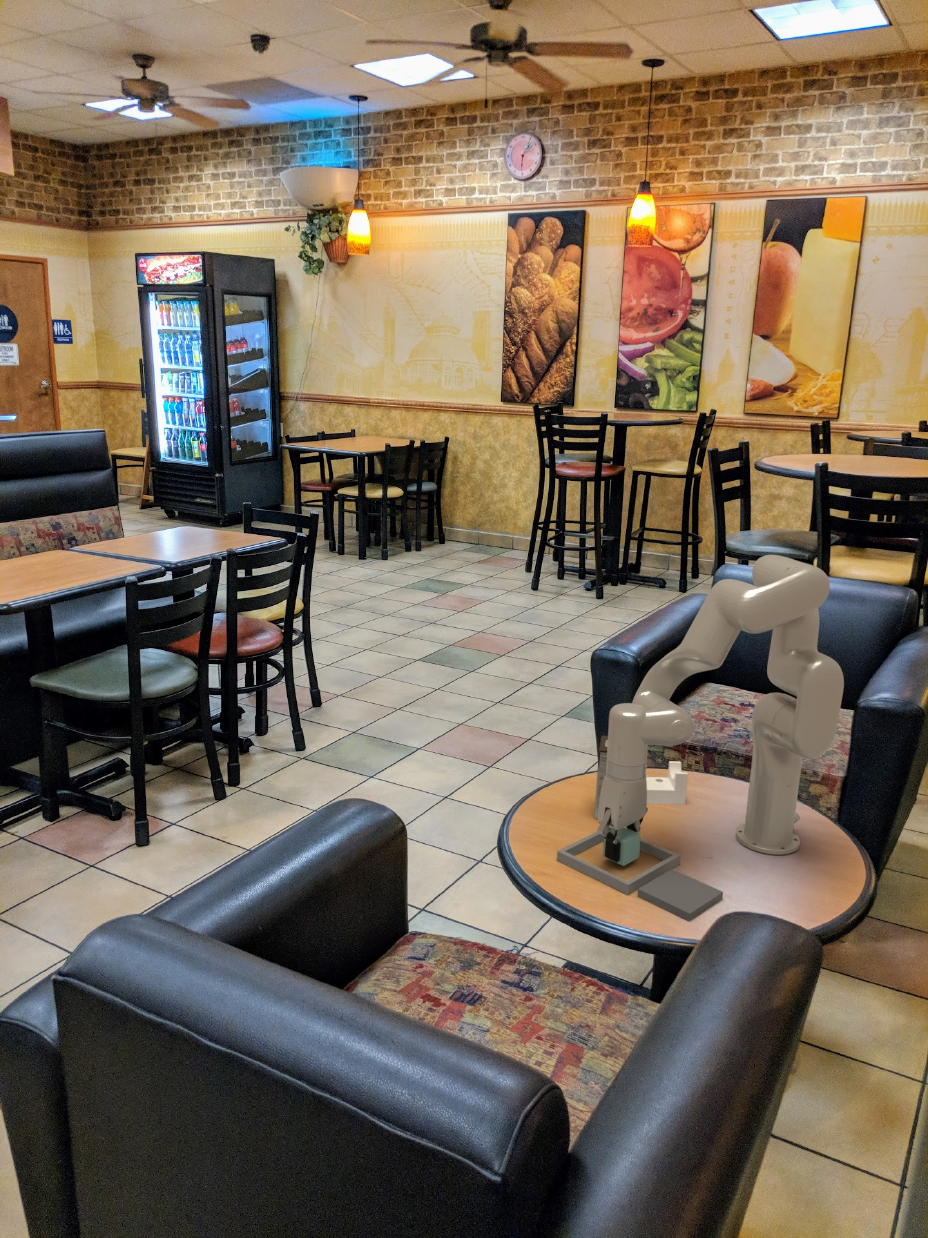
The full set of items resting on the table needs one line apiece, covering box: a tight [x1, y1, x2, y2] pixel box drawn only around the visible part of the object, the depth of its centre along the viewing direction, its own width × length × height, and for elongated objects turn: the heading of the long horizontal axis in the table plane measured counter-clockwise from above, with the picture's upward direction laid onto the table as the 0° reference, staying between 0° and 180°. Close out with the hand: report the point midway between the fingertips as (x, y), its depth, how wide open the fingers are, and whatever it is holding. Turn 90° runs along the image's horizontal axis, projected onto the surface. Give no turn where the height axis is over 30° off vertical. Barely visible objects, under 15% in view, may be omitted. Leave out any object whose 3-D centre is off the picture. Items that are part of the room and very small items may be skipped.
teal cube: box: [602, 827, 641, 867], centre depth 184 cm, size 5×5×5 cm
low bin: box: [556, 829, 681, 895], centre depth 185 cm, size 17×17×2 cm
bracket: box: [646, 760, 689, 805], centre depth 214 cm, size 13×7×8 cm, turn 91°
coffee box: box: [594, 735, 608, 820], centre depth 205 cm, size 9×6×16 cm
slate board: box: [636, 868, 724, 922], centre depth 173 cm, size 11×11×2 cm
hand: (621, 853), depth 185 cm, fingers closed on teal cube, 5 cm apart
